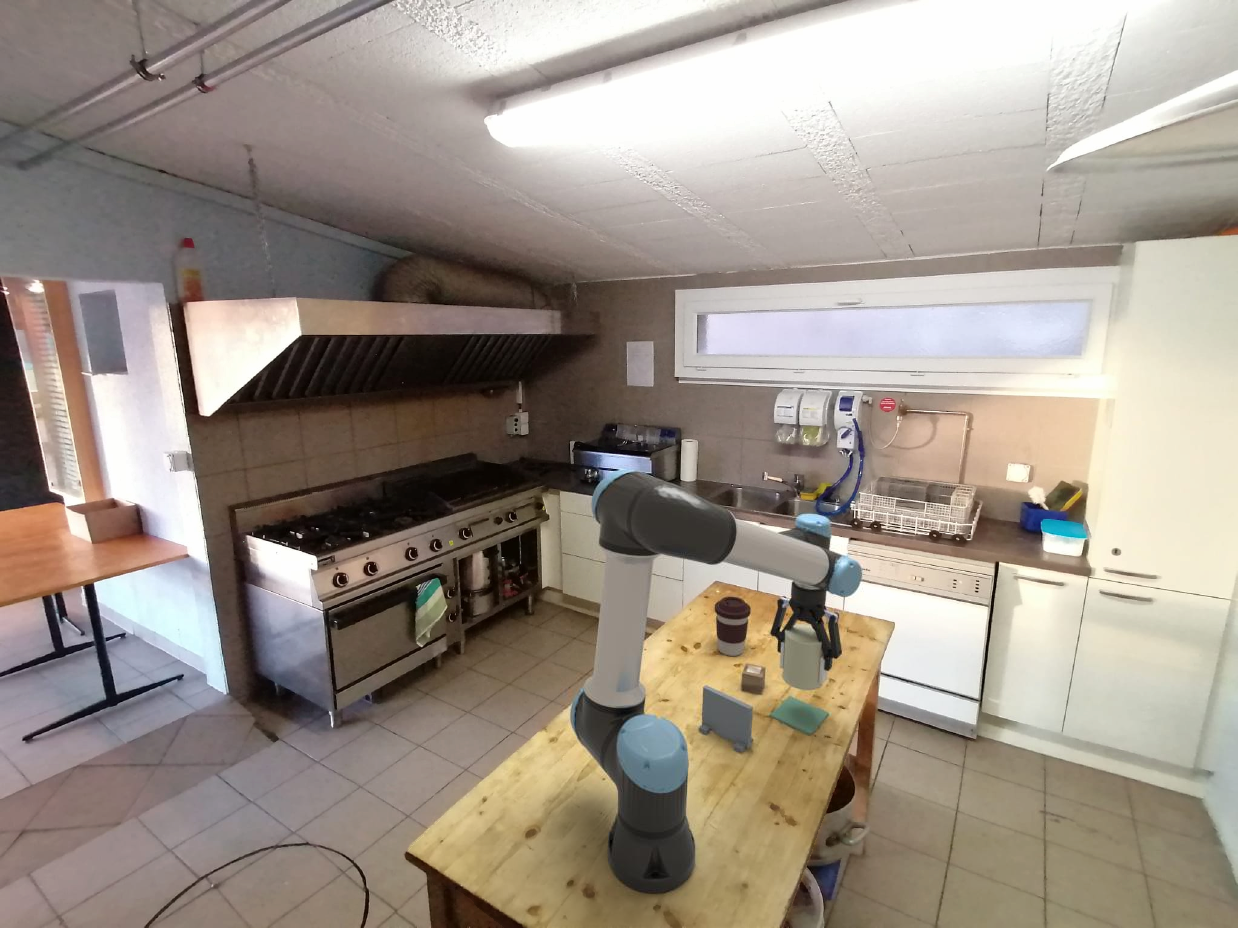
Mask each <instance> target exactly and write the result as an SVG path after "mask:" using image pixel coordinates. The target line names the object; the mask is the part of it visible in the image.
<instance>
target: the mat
mask: <svg viewBox="0 0 1238 928" xmlns="http://www.w3.org/2000/svg"><path fill="white" fill-rule="evenodd" d="M828 716H830V713H829V712H828V711H827V710H826V711H825V710H824V709H822V708H820V707H817V706H814V705H812V704H809V703H808V702H806V701H802V700H801V699H797V698H796V697H793V696H791V695H789V696H788V697H786V699H785V700H784V701H783V702H782V703H780V704H779V705H778V707H776V708H775V709H774V710H773V711H772V712H771V713H770V714H769V718H771V719H773V720H775V721H778V722H779V723H782V724H785V725H787V726H788V727H791V728H793V729H795V730H797V731H800V732H801V733H803V734H806V735H808V736H810V737H811V736H812V735H813V733H814V732H816V730H817V729H818V728H819V727H820V725H821V724H822V723H823V722H824V721H825V720H826V719H827V718H828Z"/></svg>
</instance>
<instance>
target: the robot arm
mask: <svg viewBox="0 0 1238 928" xmlns="http://www.w3.org/2000/svg"><path fill="white" fill-rule="evenodd" d="M590 504H591V505H590V506H591V507H590V508H591V513H592V516H593V517H594V519H595V521H596V522H597V523H598V524H599V525H600V527H599V538H598V547H599V548H600V549H601V550H602V551H603V553H604V554H605V561H604V570H603V571H604V572H603V580H602V581H603V582H602V589H601V599H600V608H599V616H598V626H597V627H598V629H597V635H596V636H597V638H596V647H595V655H594V665H593V675H591V676H589V677H588V678H587V679H586V680H585V683H584V685H583V686H582V687H581V688H580V689H579V694H578V695H575V696H574V698H573V701H572V703H571V708H570V711H569V712H570V713H569V719H570V725H571V728H572V730H573V732H574V734H575V735H576V738H577V739H578V741H579V743H580V744H581V746H582V747H584V748H585V750H586V751H587V752H588V753H589V754H590V755H591V756H592V758H593V759H594V760H595V761H596V762H597V763H598V765H599V766H600V767H601V769H602V770H603V771H604V772H605V773H606V774H607V776H608V777H609V778H610V780H611V781H612V782H613V783H614V785H615V786H616V790H617V814H616V816H615V818H614V820H613V821H614V822H613V824H612V825H611V829H610V831H609V834H608V840H607V859H608V864H609V866H610V869H611V871H612V873H613V874H614V876H615V877H616V878H617V879H618V880H619V881H620V882H621V883H622V884H623V885H625V886H627V887H628V888H630V889H633V890H635V891H637V892H641V893H647V894H661V893H662V894H663V893H667V892H670V891H672V890H675V889H676V888H678V887H680V886H681V885H683V884H684V882H686V881H687V880H688V878H690V875H691V874H692V872H693V870H694V868H695V862H696V843H695V842H696V841H695V838H694V835H693V832H692V830H691V828H690V823H689V821H688V818H687V799H688V798H687V797H688V779H689V778H688V776H689V767H690V763H689V761H690V760H689V754H688V744H687V740H686V737H685V736H684V734H683V733H682V730H680V728H679V727H678V726H677V725H676V724H674V722H672V721H671V720H669V719H667V718H666V717H660V718H657V715H656V714H650V713H649V714H648V713H647V714H645V707H646V706H645V705H646V698H647V697H646V696H647V689H646V687H645V686H644V685H643V683H642V682H641V681H640V679H641V678H640V677H641V669H642V660H643V653H644V646H645V645H644V642H645V637H646V635H645V634H646V625H647V620H648V619H647V618H648V610H649V601H650V593H651V586H652V585H651V584H652V576H653V575H652V574H653V566H654V561H655V560H656V559H657V558H659V557H660V556H661V555H664V556H667V557H673V558H678V559H684V560H688V561H691V562H692V561H693V562H697V563H703V564H706V565H711V566H714V565H719V564H721V563H726V564H730V565H733V566H738V567H742V568H745V569H749V570H753V571H756V572H760V573H764V574H767V575H770V576H775V577H779V578H782V579H787V580H789V581H791V589H790V596H791V597H790V598H788V597H786V596H785V595H783V596H781V597H779V598H778V599H777V600H776V601H777V602H776V604H777V609H776V612H775V616H774V620H773V623H772V626H771V628H770V632H769V633H770V635H771V636H772V637H775V638H776V640H777V648H776V649H777V650H776V651H777V653H780V656H779V668H780V669H782V670H783V665H784V650H785V630H788V631H789V630H790V629H791V628H793V626H794V625H797V622H799V621H800V622H805V623H806V624H807V625H810V626H812V628H813V629H814V630H815V633H816V635H817V638H818V641H819V642H822V645H821V649H822V651H823V654H824V655H822V656H821V660H820V673H819V684H823V685H824V683H825V682H826V681H827V680H828V672H830V670H831V669H832V668H833V659H834V660H837V659H838V658H839V657H840V656H841V655H842V654H843V650H842V649H843V648H842V643H841V637H840V630H839V618H840V614H839V612H836V611H835V612H832V611H829V610H828V609H827V606H826V601H827V592H828V593H829V594H830V595H835V596H838V597H841V598H848V597H850V596H853V594H855V593H856V592H857V590H858V589H859V587H860V584H861V581H862V580H863V579H862V578H863V570H862V567H861V564H860V563H859V561H857V560H855V559H853V558H850V557H849V556H847V555H844V554H842V553H841V554H840V553H837V552H835V551H833V550H830V549H831V548H830V546H831V541H832V540H831V539H832V522H831V520H830V519H829V518H828V517H826V516H824V515H822V514H821V515H820V514H816V513H804V514H803V513H802V514H799V515H798V516H797V517H796V519H795V523H794V527H793V528H790V529H787V530H782V531H779V532H778V531H777V532H776V531H773V530H770V529H767V528H764V527H763V526H758V525H755V524H752V523H750V522H747V521H745V520H741V519H738V518H736V517H735V516H734V514H733V513H732V512H731V510H729V509H727V508H724V507H721V506H719V505H717V504H714V503H712V502H710V501H709V500H706V499H704V498H703V497H700V496H699V495H697V494H695V493H694V492H692V491H689V490H688V489H686V488H683V486H680V485H678V484H675V483H673V482H669V481H665V480H663V479H661V478H659V477H658V478H657V477H655V476H652V475H649V474H648V473H646V472H644V471H638V470H633V469H625V468H624V469H618V470H614V471H613V472H611V473H609V474H608V475H607V476H605V477H604V478H603V480H601V481H600V482H599V483H598V485H596V488H595V489H594V492H593V494H592V497H591V503H590ZM788 607H790V609H791V611H792V614H791V616H790V617H789V620H788V621H787V622H786V624H785V625H784V627H783V629H782V630H781V628H782V625H783V622H784V619H785V616H786V612H787V609H788ZM823 617H825V618H826V622H827V623H828V624H827V628H828V629H827V630H828V632H827V630H826V627H825V622H824V619H823ZM828 635H829V636H828Z"/></svg>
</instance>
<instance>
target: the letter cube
mask: <svg viewBox="0 0 1238 928" xmlns="http://www.w3.org/2000/svg"><path fill="white" fill-rule="evenodd" d="M765 683H766V666H762V665H757V664H752V663H747V662H746V663H745V665H744V667H743V671H742V674H741V688H740V689H741V690H740V691H742V692H746V693H752V694H756V695H759V696H761V695H762V694H763V691H764V687H765Z"/></svg>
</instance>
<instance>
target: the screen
mask: <svg viewBox="0 0 1238 928" xmlns="http://www.w3.org/2000/svg"><path fill="white" fill-rule="evenodd" d="M701 707H702V711H701V714H702V715H701V725H700V726H698V732H699V733H702V734H703V735H705V736H707V735H708V734H709V733H711V732H712V733H714V734H716V735H717V736H720V737H721V738H724V739H725V740H728V741H729V742H731V743H733V746H732V747H733V748H732V750H733V751H736V752H737V753H739V754H742V753H744V752H745V750H746V751H749V750H750V748H751V747H752V744H753V743H754V738H753V737H752V729H753V711H754V706H752V705H750V704H749V703H748V704H747V702H743V701H741V700H739V699H738V698H736V697H733V696H731V695H729V694H727V693H724V692H723V691H720V690H717V689H716V688H713V687H711V686H710V685H708V684H707V685H706V684H705V685H704V686H703V687H702V706H701Z"/></svg>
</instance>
